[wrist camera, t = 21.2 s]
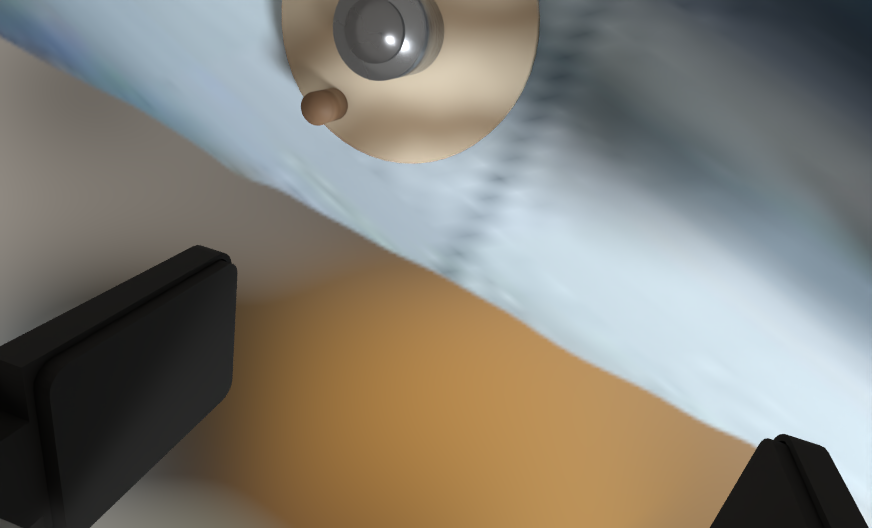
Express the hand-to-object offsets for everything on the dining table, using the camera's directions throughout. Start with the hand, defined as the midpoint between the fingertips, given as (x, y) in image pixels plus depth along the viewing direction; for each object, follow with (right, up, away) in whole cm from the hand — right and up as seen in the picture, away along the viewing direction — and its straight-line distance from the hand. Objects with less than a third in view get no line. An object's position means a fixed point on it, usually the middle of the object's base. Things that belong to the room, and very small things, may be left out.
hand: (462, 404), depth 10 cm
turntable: (-2, +17, +25) cm, 31 cm away
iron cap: (-2, +16, +23) cm, 29 cm away
